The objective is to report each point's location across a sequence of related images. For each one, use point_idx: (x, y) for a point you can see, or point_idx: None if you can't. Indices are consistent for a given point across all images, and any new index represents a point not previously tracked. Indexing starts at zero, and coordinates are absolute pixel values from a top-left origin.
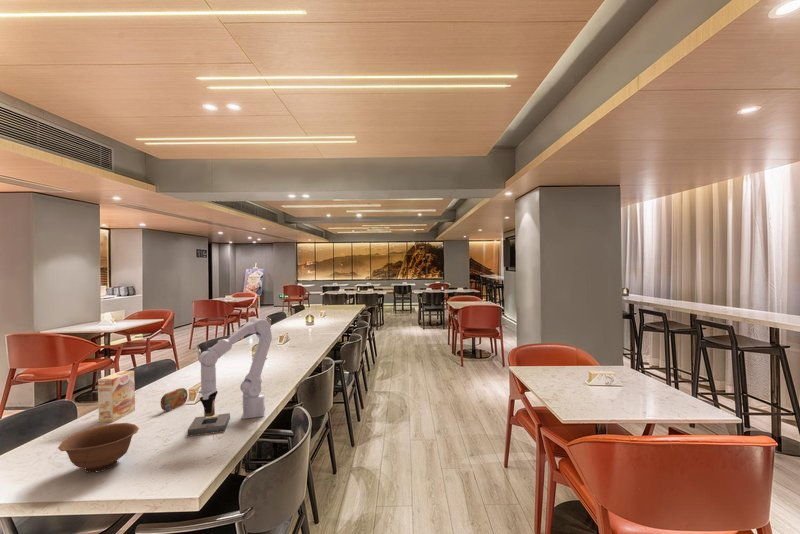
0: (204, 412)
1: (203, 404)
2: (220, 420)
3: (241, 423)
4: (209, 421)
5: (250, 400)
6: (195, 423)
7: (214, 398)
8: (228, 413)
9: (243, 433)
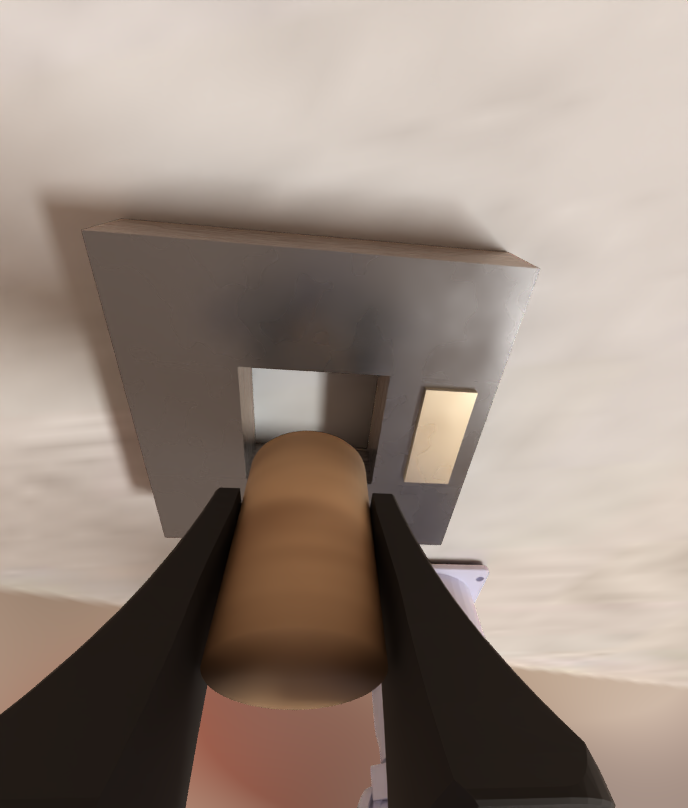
0: (274, 472)
1: (102, 634)
2: None
3: None
4: (378, 407)
5: (380, 739)
6: (295, 300)
7: (385, 715)
8: (439, 537)
9: (117, 577)
